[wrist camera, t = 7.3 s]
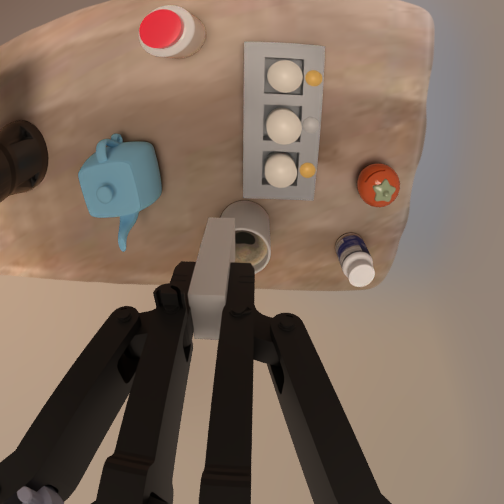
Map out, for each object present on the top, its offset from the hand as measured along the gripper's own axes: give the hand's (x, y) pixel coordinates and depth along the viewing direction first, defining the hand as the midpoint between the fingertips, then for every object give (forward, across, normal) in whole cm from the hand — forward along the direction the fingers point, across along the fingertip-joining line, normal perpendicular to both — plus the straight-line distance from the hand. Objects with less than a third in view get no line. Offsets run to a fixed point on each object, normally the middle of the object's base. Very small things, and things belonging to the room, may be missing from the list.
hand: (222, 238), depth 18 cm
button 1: (+31, +6, -5) cm, 32 cm away
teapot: (+35, -20, -8) cm, 41 cm away
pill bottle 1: (+35, -10, +16) cm, 39 cm away
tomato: (+34, +22, -7) cm, 41 cm away
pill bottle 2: (+34, +20, -21) cm, 45 cm away
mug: (+34, -1, -17) cm, 38 cm away
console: (+34, +6, +2) cm, 35 cm away
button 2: (+31, +6, +9) cm, 33 cm away
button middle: (+29, +6, +2) cm, 30 cm away
